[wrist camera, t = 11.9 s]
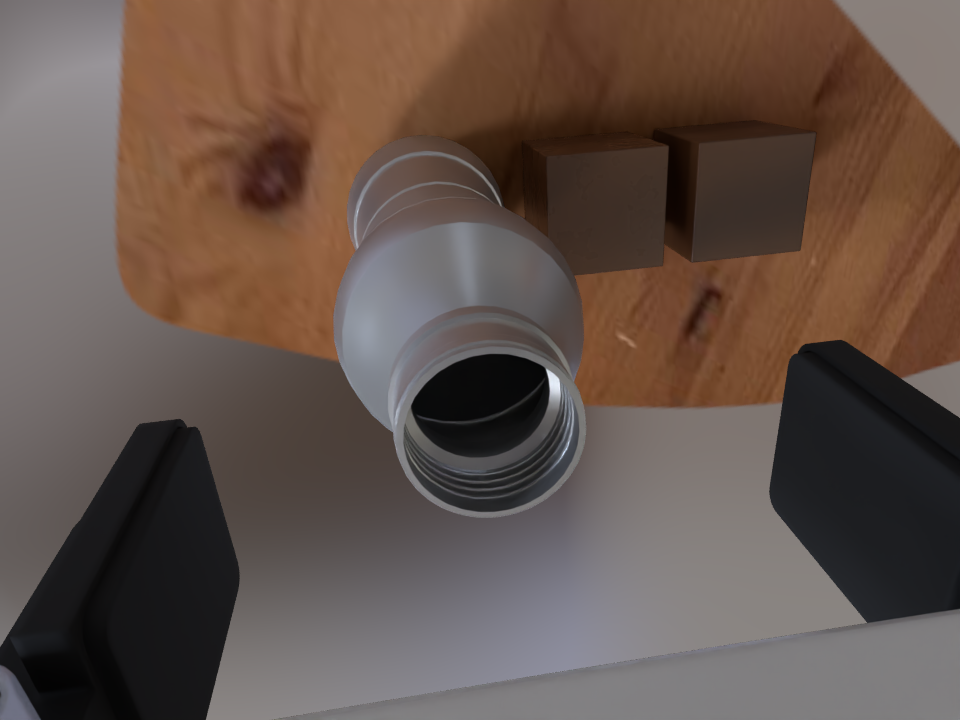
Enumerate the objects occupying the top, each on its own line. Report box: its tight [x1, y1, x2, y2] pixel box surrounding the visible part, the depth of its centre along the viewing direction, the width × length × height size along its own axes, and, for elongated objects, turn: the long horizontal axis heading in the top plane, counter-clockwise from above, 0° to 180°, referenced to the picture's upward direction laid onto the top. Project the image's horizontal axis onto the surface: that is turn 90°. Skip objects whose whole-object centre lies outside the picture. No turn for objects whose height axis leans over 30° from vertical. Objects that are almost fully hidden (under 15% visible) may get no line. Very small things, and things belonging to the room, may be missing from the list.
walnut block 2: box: [654, 120, 816, 263], centre depth 30 cm, size 5×5×5 cm
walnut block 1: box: [522, 132, 669, 276], centre depth 29 cm, size 5×5×5 cm
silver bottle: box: [333, 135, 586, 517], centre depth 22 cm, size 6×7×20 cm
